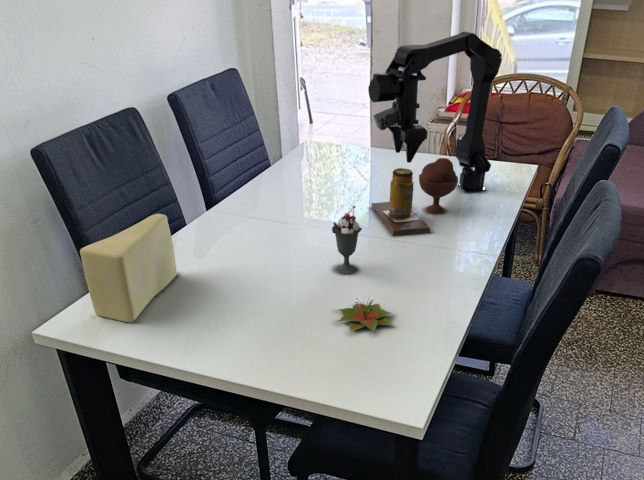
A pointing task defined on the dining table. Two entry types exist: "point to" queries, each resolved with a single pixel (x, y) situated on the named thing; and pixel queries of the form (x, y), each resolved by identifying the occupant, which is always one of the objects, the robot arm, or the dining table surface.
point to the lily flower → (365, 316)
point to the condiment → (401, 196)
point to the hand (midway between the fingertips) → (403, 157)
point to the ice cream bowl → (438, 182)
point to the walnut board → (400, 227)
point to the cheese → (129, 268)
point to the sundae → (346, 240)
